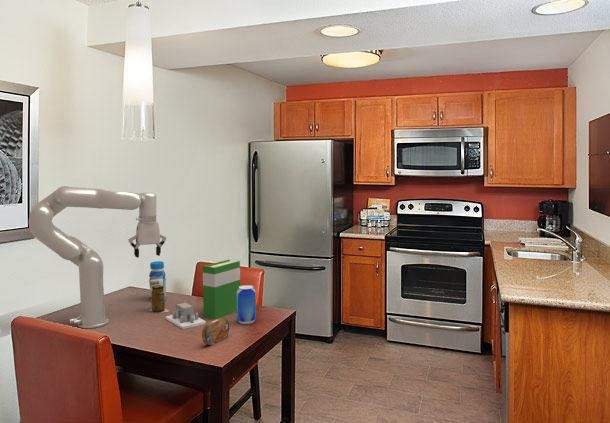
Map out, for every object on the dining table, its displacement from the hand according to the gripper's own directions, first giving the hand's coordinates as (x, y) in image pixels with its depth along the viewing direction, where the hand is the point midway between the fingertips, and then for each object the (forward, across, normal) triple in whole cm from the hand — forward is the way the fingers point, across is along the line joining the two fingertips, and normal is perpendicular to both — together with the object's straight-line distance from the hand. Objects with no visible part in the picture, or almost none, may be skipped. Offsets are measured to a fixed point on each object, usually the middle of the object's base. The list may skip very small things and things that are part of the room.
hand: (147, 256), depth 217 cm
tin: (+28, +11, -48) cm, 57 cm away
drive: (+27, +11, -18) cm, 34 cm away
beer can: (+27, +33, -35) cm, 55 cm away
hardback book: (+27, +30, -17) cm, 44 cm away
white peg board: (+28, +11, -18) cm, 35 cm away
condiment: (+28, +7, +5) cm, 30 cm away
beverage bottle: (+28, +13, +23) cm, 39 cm away
